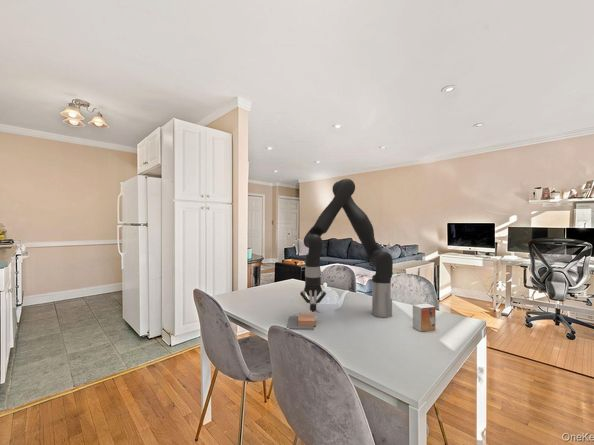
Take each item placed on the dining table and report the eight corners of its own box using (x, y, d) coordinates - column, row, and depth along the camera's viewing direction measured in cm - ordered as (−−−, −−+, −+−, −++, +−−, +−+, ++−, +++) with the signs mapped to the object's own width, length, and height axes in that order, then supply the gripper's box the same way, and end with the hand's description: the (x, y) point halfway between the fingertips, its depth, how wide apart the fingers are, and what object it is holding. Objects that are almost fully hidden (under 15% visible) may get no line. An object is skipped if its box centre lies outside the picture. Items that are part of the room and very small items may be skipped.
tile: (314, 313, 133) (298, 313, 133) (315, 320, 123) (298, 320, 123) (314, 318, 133) (298, 318, 133) (315, 326, 123) (298, 325, 123)
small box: (420, 332, 117) (420, 308, 117) (412, 327, 122) (412, 304, 122) (436, 330, 119) (435, 306, 119) (426, 325, 124) (426, 303, 124)
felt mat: (312, 316, 136) (312, 316, 136) (313, 329, 120) (313, 328, 120) (289, 316, 137) (289, 316, 137) (287, 329, 121) (287, 328, 121)
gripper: (326, 274, 132) (326, 309, 132) (299, 274, 132) (299, 308, 132) (327, 277, 124) (327, 314, 124) (299, 277, 125) (299, 314, 125)
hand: (313, 311), depth 128 cm, fingers closed
